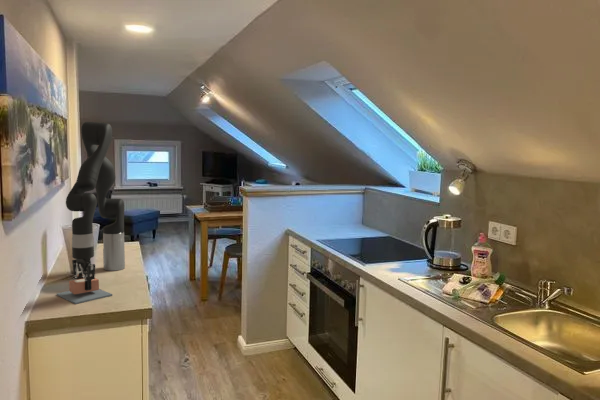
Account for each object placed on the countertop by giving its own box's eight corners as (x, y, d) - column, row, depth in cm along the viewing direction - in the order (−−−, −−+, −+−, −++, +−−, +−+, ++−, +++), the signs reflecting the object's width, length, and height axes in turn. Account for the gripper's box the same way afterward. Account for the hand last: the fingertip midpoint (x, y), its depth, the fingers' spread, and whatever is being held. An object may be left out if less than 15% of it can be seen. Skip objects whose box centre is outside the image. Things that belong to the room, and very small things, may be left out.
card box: (93, 286, 184) (93, 276, 184) (98, 289, 180) (98, 279, 180) (69, 291, 178) (69, 280, 178) (74, 294, 174) (73, 283, 174)
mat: (56, 295, 179) (56, 293, 179) (92, 287, 190) (92, 285, 190) (75, 304, 169) (75, 302, 169) (112, 295, 180) (112, 294, 180)
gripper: (101, 246, 176) (103, 290, 178) (83, 241, 185) (85, 282, 187) (81, 249, 170) (83, 294, 172) (64, 243, 179) (65, 286, 181)
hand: (84, 288), depth 179 cm, fingers closed on card box, 5 cm apart
